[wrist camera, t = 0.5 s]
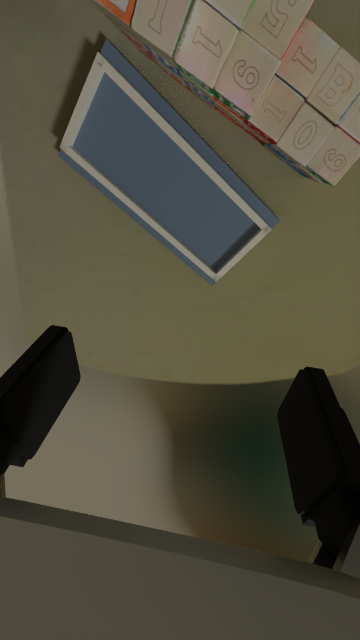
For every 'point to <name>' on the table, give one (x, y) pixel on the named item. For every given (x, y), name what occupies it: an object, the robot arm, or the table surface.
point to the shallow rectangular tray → (161, 169)
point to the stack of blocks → (258, 73)
